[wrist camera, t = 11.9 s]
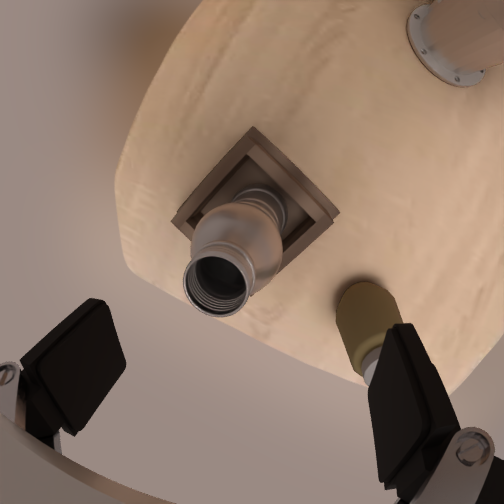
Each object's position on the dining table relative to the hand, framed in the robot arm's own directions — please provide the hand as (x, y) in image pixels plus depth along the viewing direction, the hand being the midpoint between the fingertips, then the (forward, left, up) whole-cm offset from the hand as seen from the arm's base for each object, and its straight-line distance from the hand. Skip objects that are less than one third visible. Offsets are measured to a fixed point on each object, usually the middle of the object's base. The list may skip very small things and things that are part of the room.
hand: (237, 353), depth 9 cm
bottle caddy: (+1, -3, -27) cm, 27 cm away
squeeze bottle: (+13, +11, -27) cm, 32 cm away
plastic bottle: (+1, -2, -26) cm, 26 cm away
